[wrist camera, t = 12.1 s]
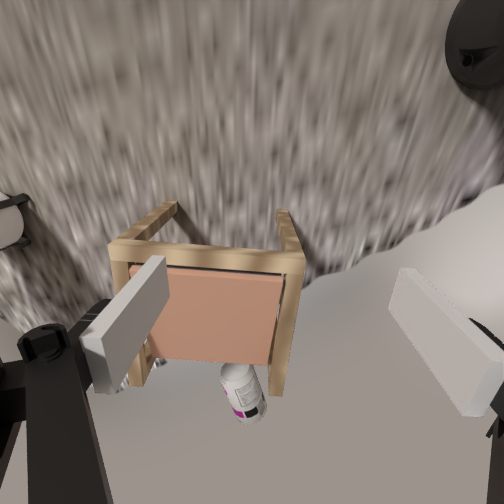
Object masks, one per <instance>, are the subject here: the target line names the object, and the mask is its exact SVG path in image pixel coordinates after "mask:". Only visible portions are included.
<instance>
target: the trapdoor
mask: <svg viewBox="0 0 504 504" xmlns="http://www.w3.org/2000/svg"><path fill="white" fill-rule="evenodd" d="M144 264H145V263H139V262H137V263H136V264H135V265H132V266H131V268H130V270H129V273H130V277H131V278H132V277H133V276H134V275H135V274H136V273H137V272H138V270H139V269H140V268H141V267H142V266H143V265H144ZM167 274H168V283H169V292H170V298H169V299H168V301H167V303H166V305H165V306H164V308H163V310H162V312H161V314H160V315H159V317H158V319H157V321H156V322H155V324H154V326H153V328H152V329H151V331H150V333H149V335H148V337H147V339H148V343H149V347H150V350H151V354H152V357H154V358H168V359H182V360H196V361H210V362H224V363H238V364H252V365H267V363H268V357H269V352H270V347H271V342H272V336H273V331H274V326H275V321H276V315H277V310H278V305H279V300H280V294H281V289H282V284H283V279H282V276H281V273H271V272H257V271H244V270H231V269H218V268H205V267H192V266H179V265H167Z"/></svg>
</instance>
